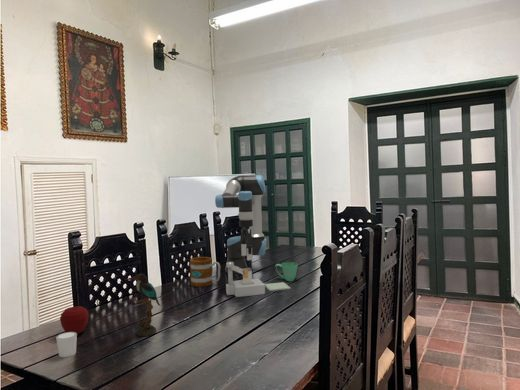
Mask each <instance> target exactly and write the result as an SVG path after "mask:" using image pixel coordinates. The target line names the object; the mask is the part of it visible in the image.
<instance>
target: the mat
mask: <svg viewBox="0 0 520 390" xmlns="http://www.w3.org/2000/svg"><path fill="white" fill-rule="evenodd" d="M263 284H264V285H265V289H267V290H268V291H269V292H275V291H276V292H277V291H283V290H284V291H286V290H291V287H290V286H289V285H288V284H287V283H285V282H283V281H282V282H273V283H263Z"/></svg>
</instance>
